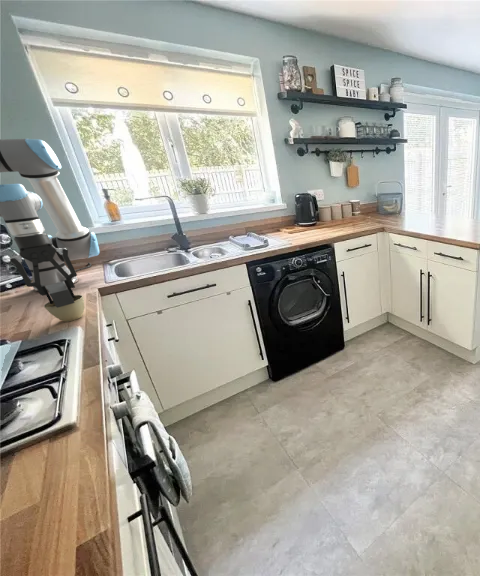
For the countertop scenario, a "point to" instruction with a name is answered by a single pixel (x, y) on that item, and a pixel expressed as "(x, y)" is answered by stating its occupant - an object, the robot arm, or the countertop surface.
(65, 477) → the countertop surface
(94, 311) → the countertop surface
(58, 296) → the bar
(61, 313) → the olive yellow bowl
